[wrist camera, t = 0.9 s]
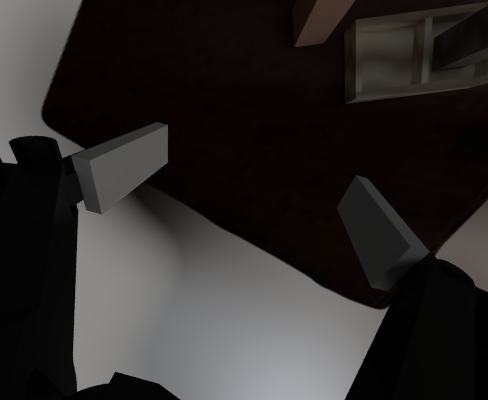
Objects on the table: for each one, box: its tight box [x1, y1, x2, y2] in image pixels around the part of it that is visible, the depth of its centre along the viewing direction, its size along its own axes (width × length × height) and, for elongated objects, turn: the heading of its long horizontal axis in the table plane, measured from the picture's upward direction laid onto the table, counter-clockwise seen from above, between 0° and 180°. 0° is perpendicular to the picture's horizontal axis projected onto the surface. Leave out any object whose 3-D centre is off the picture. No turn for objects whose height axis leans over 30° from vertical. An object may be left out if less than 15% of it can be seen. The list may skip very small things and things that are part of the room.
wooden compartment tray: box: [344, 2, 488, 104], centre depth 27 cm, size 11×22×14 cm, turn 97°
